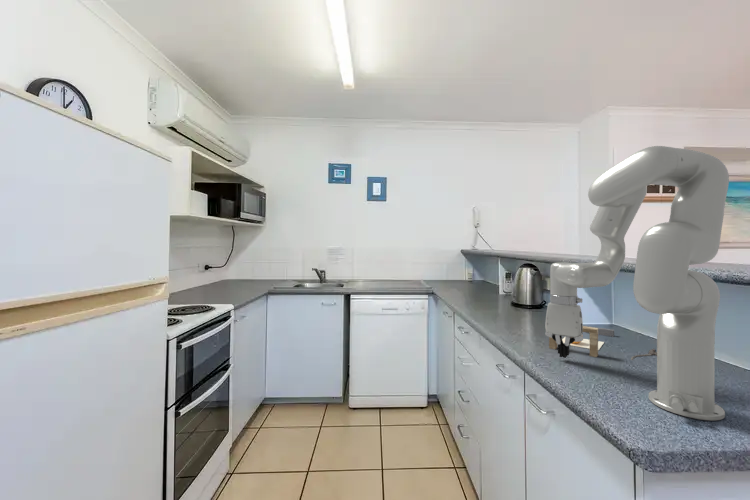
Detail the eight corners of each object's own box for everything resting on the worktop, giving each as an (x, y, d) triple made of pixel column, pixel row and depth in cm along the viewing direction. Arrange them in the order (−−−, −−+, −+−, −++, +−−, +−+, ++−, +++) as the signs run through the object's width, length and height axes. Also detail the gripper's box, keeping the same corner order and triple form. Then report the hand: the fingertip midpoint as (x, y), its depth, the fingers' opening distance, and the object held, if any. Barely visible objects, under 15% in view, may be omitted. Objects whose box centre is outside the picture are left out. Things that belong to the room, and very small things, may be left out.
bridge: (596, 357, 107) (596, 330, 107) (549, 348, 117) (549, 323, 117) (598, 355, 109) (598, 328, 109) (551, 346, 119) (551, 321, 119)
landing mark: (598, 350, 114) (598, 349, 114) (557, 343, 123) (557, 342, 123) (604, 342, 124) (604, 342, 124) (566, 336, 132) (566, 335, 132)
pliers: (631, 360, 103) (629, 345, 119) (631, 362, 103) (629, 347, 119) (671, 366, 97) (664, 350, 113) (671, 369, 97) (664, 352, 113)
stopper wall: (613, 336, 132) (613, 330, 132) (569, 330, 143) (569, 324, 143) (614, 335, 133) (614, 329, 133) (570, 329, 144) (570, 323, 144)
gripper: (593, 301, 101) (593, 359, 101) (542, 296, 111) (542, 348, 111) (588, 304, 96) (588, 365, 96) (535, 299, 106) (535, 354, 106)
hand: (563, 356), depth 104 cm, fingers closed
